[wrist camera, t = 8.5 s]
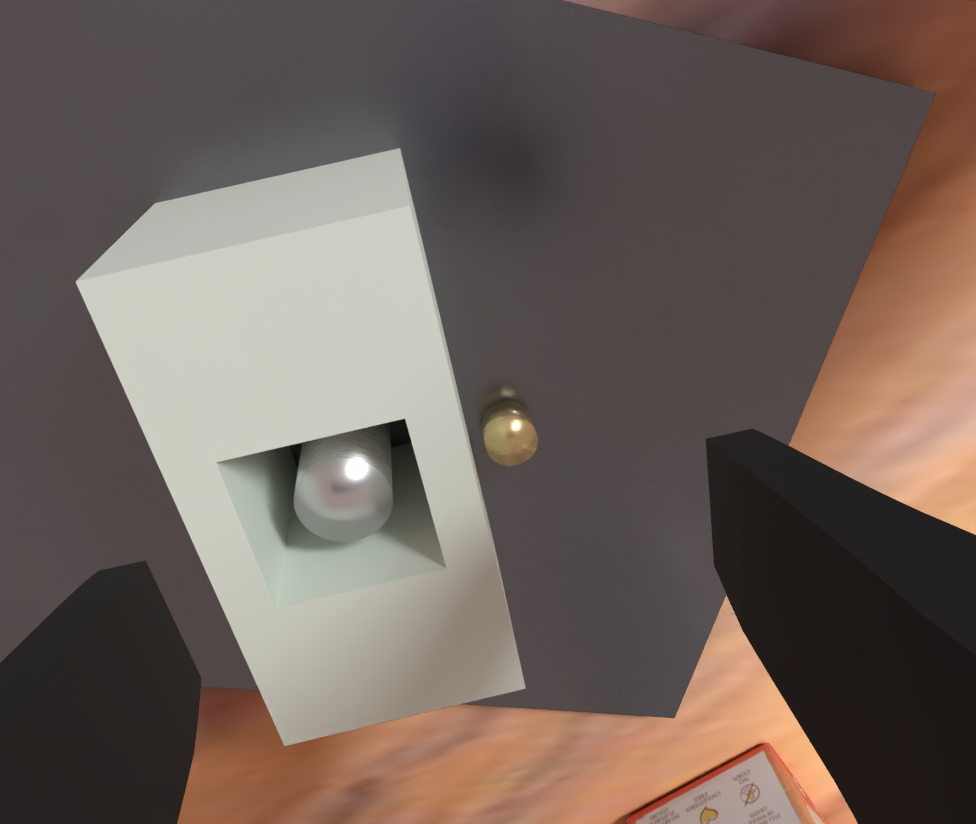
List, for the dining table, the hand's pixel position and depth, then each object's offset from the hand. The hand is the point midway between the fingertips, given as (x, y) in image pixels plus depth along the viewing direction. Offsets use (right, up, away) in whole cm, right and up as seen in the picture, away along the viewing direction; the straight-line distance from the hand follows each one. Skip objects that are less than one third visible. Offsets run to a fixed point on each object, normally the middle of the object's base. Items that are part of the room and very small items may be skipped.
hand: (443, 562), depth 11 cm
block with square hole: (-3, +2, +8) cm, 9 cm away
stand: (-3, +3, +9) cm, 10 cm away
